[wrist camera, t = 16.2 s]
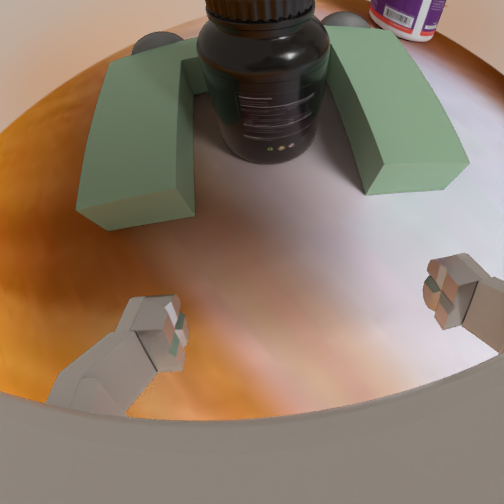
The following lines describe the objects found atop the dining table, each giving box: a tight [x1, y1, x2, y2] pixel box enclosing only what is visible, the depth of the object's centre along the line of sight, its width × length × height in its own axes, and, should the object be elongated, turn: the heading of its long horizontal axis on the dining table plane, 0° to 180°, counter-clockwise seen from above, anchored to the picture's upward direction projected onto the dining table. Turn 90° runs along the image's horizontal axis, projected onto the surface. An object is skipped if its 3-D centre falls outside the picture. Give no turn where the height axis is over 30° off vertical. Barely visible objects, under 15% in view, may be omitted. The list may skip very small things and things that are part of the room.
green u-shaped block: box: [76, 11, 470, 231], centre depth 18 cm, size 24×15×5 cm, turn 96°
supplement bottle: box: [196, 0, 330, 164], centre depth 14 cm, size 7×7×12 cm
